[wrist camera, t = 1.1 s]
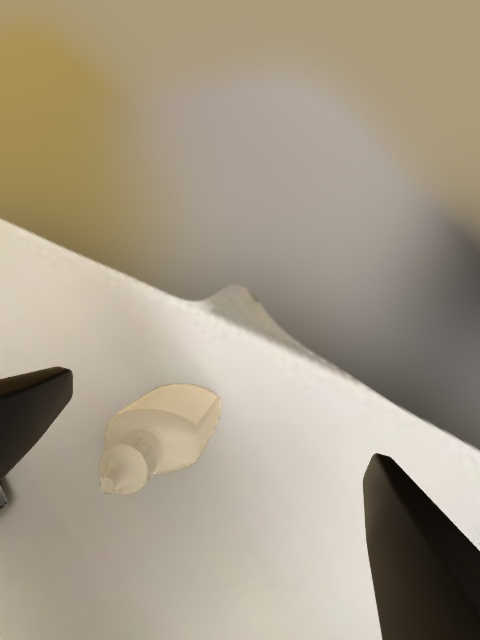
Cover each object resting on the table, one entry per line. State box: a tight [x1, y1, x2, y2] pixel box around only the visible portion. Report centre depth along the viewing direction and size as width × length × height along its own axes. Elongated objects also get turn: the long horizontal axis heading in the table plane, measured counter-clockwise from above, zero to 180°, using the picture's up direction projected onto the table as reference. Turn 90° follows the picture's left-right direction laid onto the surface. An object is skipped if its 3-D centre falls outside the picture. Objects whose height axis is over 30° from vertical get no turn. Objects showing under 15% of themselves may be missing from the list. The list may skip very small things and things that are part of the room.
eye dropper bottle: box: [99, 384, 221, 494], centre depth 20 cm, size 4×6×12 cm
